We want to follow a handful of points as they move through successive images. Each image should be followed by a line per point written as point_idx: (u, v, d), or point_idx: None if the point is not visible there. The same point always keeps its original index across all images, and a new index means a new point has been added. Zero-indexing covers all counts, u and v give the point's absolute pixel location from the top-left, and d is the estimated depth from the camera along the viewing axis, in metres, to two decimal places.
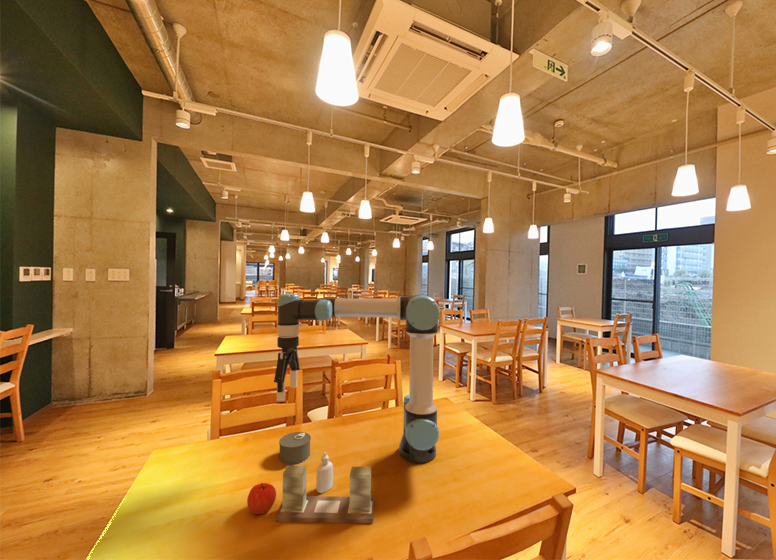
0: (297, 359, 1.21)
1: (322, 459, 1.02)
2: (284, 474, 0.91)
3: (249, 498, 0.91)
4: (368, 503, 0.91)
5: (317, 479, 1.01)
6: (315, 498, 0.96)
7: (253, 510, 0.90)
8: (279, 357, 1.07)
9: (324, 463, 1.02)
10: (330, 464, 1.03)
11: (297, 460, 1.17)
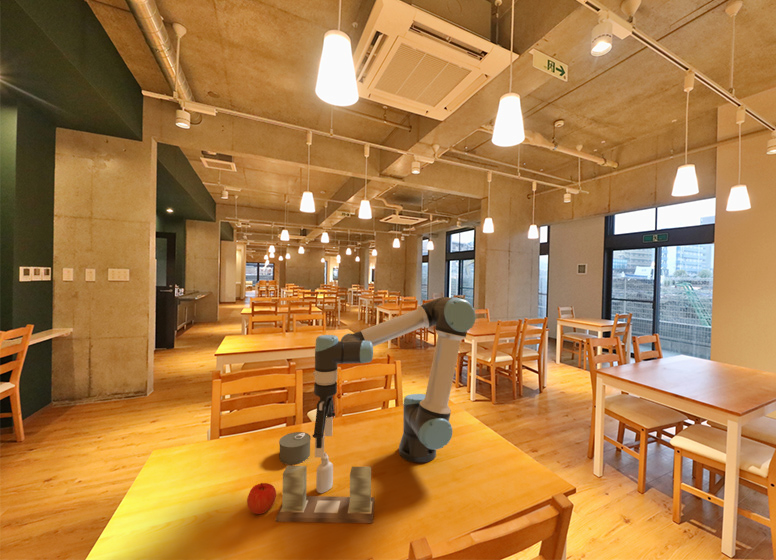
0: (332, 404, 1.11)
1: (322, 459, 1.02)
2: (284, 474, 0.91)
3: (249, 498, 0.91)
4: (368, 503, 0.91)
5: (317, 479, 1.01)
6: (315, 498, 0.96)
7: (253, 510, 0.90)
8: (318, 408, 0.96)
9: (324, 463, 1.02)
10: (330, 464, 1.03)
11: (297, 460, 1.17)
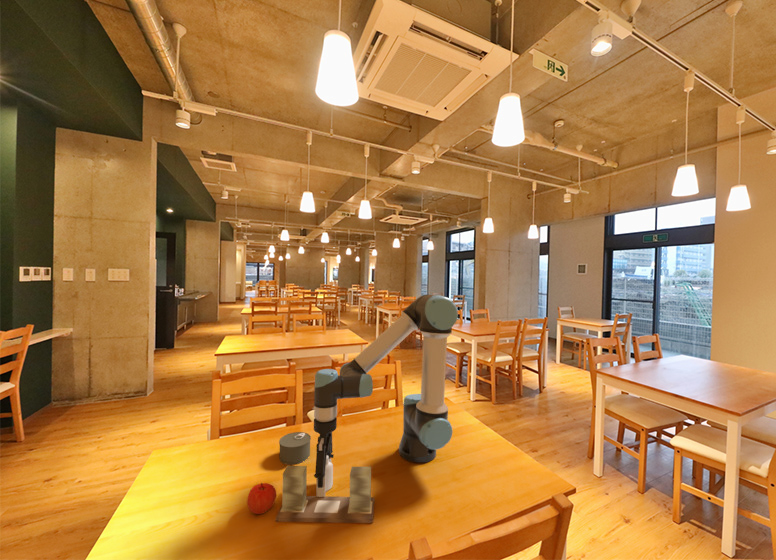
0: (331, 443, 1.09)
1: None
2: (284, 474, 0.91)
3: (249, 498, 0.91)
4: (368, 503, 0.91)
5: None
6: (315, 498, 0.96)
7: (253, 510, 0.90)
8: (318, 449, 0.96)
9: None
10: (330, 464, 1.03)
11: (297, 459, 1.17)
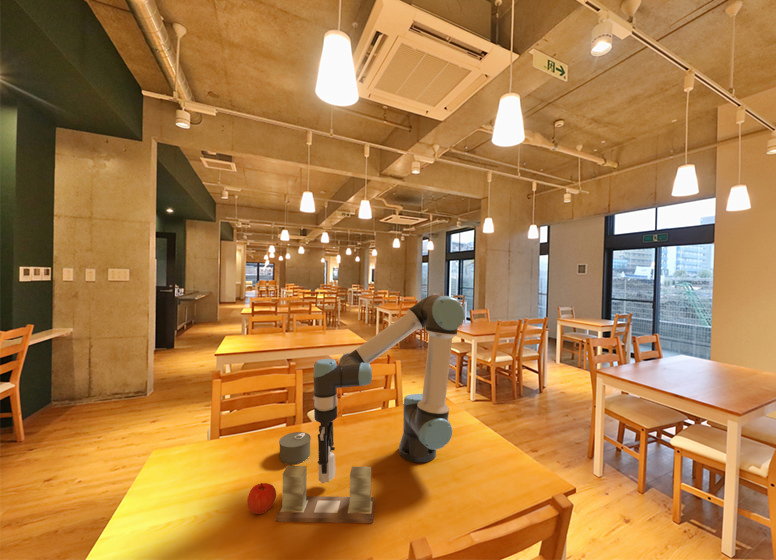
0: (332, 434, 1.08)
1: None
2: (284, 474, 0.91)
3: (249, 498, 0.91)
4: (368, 503, 0.91)
5: (319, 470, 1.01)
6: (315, 498, 0.96)
7: (253, 510, 0.90)
8: (319, 439, 0.97)
9: None
10: (332, 455, 1.03)
11: (297, 460, 1.17)
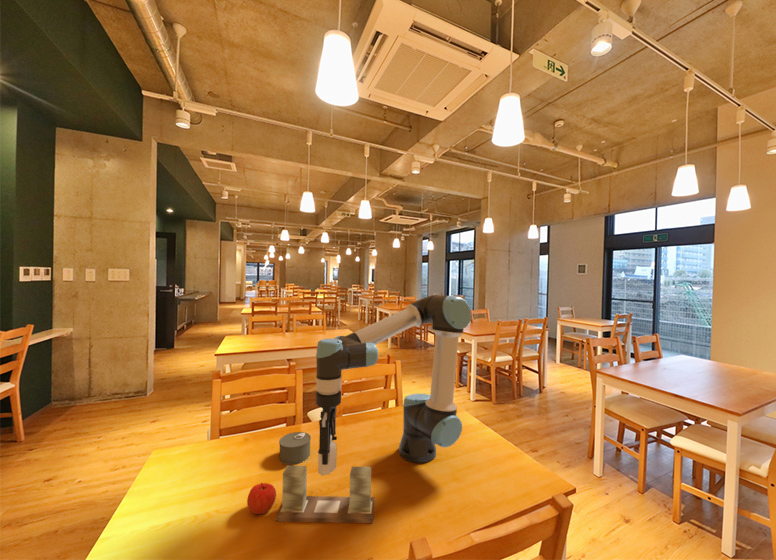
0: (335, 423, 0.98)
1: None
2: (284, 474, 0.91)
3: (249, 498, 0.91)
4: (368, 503, 0.91)
5: (319, 460, 0.91)
6: (315, 498, 0.96)
7: (253, 510, 0.90)
8: (321, 426, 0.87)
9: None
10: (333, 444, 0.93)
11: (297, 460, 1.17)
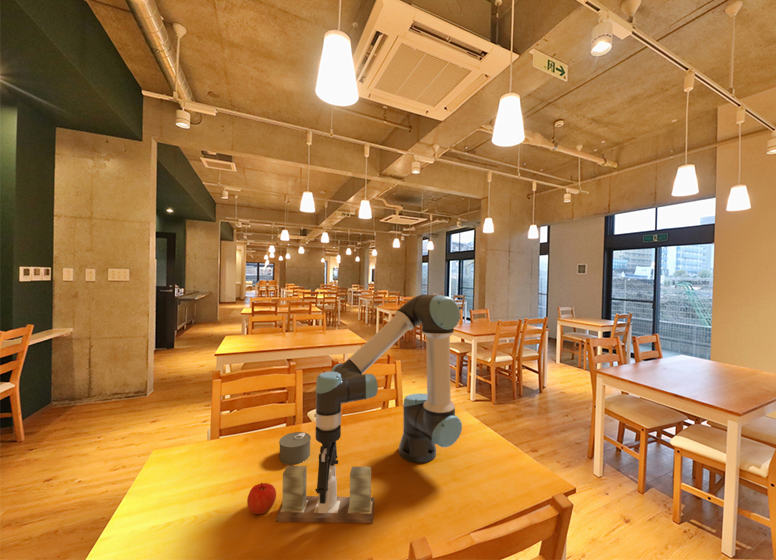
0: (335, 449, 1.00)
1: None
2: (284, 474, 0.91)
3: (249, 498, 0.91)
4: (368, 503, 0.91)
5: None
6: (315, 498, 0.96)
7: (253, 510, 0.90)
8: (320, 460, 0.86)
9: None
10: (333, 479, 0.94)
11: (297, 460, 1.17)
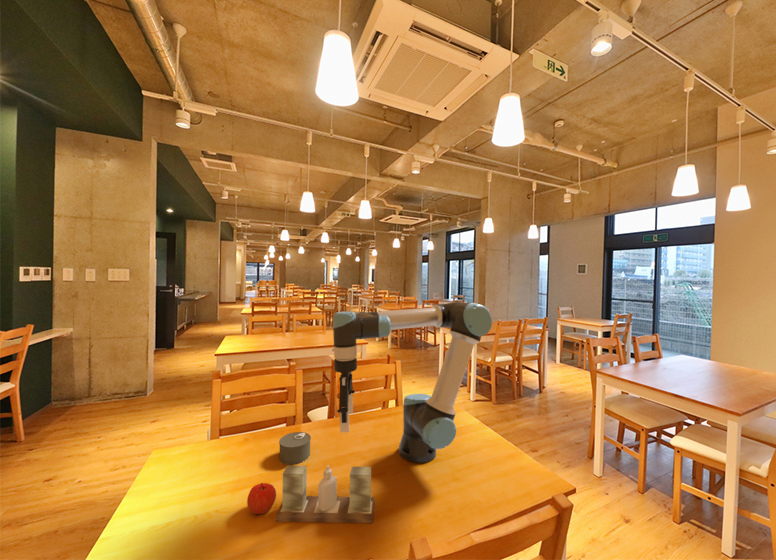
0: None
1: (324, 473, 0.93)
2: (284, 474, 0.91)
3: (249, 498, 0.91)
4: (368, 503, 0.91)
5: (319, 496, 0.91)
6: (315, 498, 0.96)
7: (253, 510, 0.90)
8: (341, 384, 0.96)
9: (326, 477, 0.92)
10: (333, 479, 0.94)
11: (297, 460, 1.17)
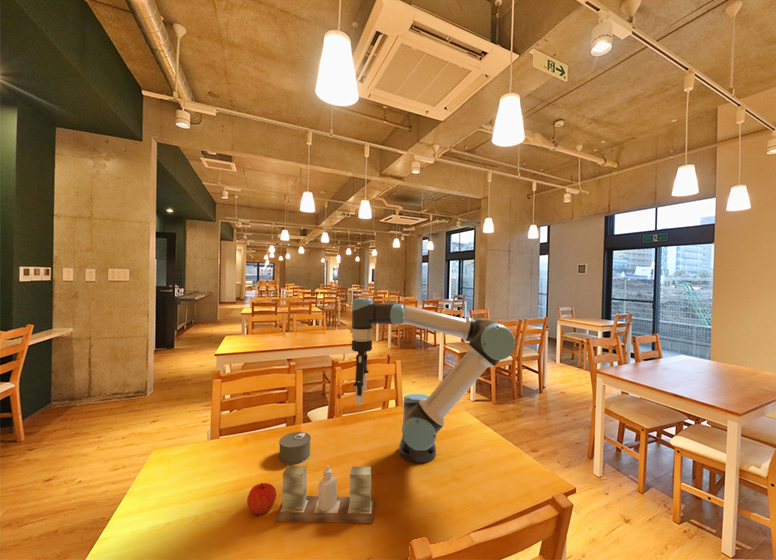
0: (366, 362, 1.22)
1: (324, 473, 0.93)
2: (284, 474, 0.91)
3: (249, 498, 0.91)
4: (368, 503, 0.91)
5: (319, 496, 0.91)
6: (315, 498, 0.96)
7: (253, 510, 0.90)
8: (358, 361, 1.08)
9: (326, 477, 0.92)
10: (333, 479, 0.94)
11: (297, 460, 1.17)
